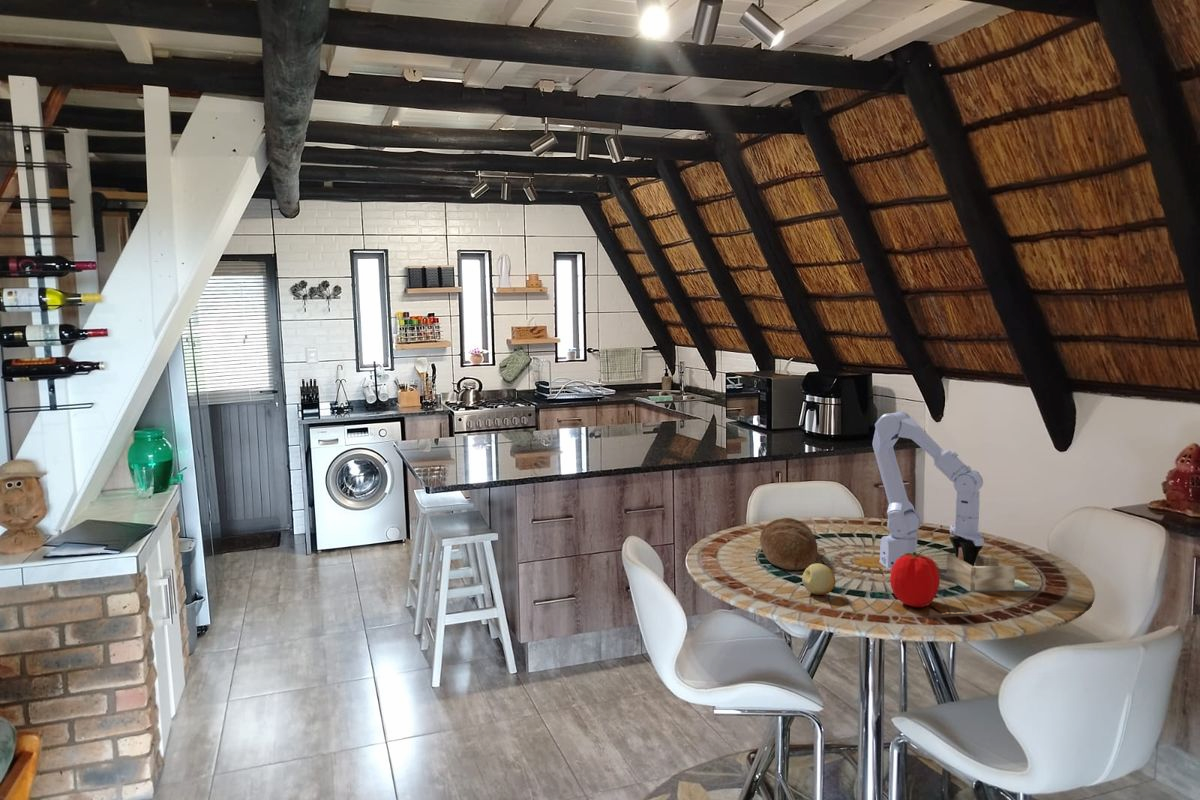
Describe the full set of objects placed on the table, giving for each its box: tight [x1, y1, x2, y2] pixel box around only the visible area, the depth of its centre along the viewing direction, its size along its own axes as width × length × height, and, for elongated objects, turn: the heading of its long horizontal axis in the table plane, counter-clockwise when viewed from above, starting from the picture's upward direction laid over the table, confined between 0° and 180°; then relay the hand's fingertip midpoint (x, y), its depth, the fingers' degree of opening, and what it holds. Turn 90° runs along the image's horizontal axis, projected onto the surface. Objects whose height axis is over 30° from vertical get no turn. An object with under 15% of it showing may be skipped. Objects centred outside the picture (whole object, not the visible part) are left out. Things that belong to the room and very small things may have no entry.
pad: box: [1014, 579, 1030, 587], centre depth 217 cm, size 5×5×1 cm
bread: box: [759, 517, 819, 571], centre depth 243 cm, size 16×29×11 cm, turn 175°
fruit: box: [801, 562, 836, 596], centre depth 209 cm, size 8×8×8 cm
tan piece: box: [945, 553, 1016, 591], centre depth 218 cm, size 12×13×6 cm
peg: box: [958, 546, 964, 561], centre depth 223 cm, size 4×4×8 cm
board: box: [939, 572, 1037, 593], centre depth 219 cm, size 18×16×1 cm
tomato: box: [889, 550, 941, 608], centre depth 201 cm, size 12×12×13 cm
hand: (965, 565), depth 223 cm, fingers closed on peg, 3 cm apart
